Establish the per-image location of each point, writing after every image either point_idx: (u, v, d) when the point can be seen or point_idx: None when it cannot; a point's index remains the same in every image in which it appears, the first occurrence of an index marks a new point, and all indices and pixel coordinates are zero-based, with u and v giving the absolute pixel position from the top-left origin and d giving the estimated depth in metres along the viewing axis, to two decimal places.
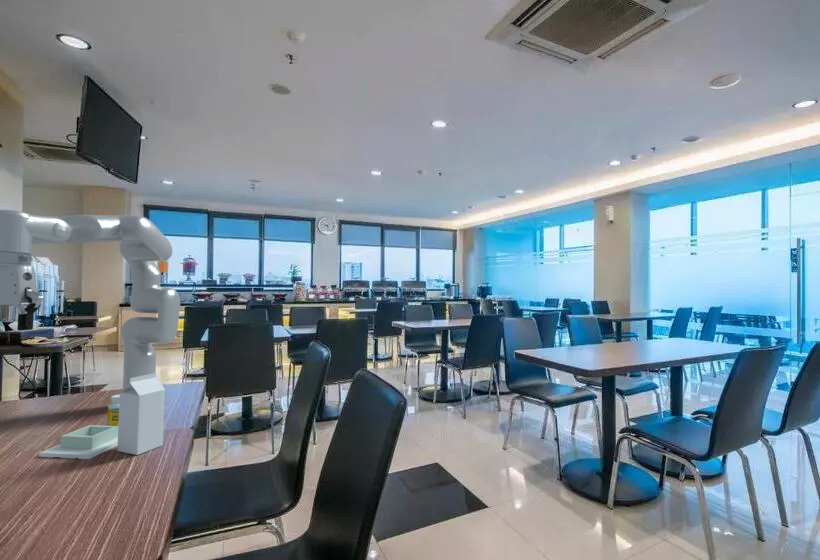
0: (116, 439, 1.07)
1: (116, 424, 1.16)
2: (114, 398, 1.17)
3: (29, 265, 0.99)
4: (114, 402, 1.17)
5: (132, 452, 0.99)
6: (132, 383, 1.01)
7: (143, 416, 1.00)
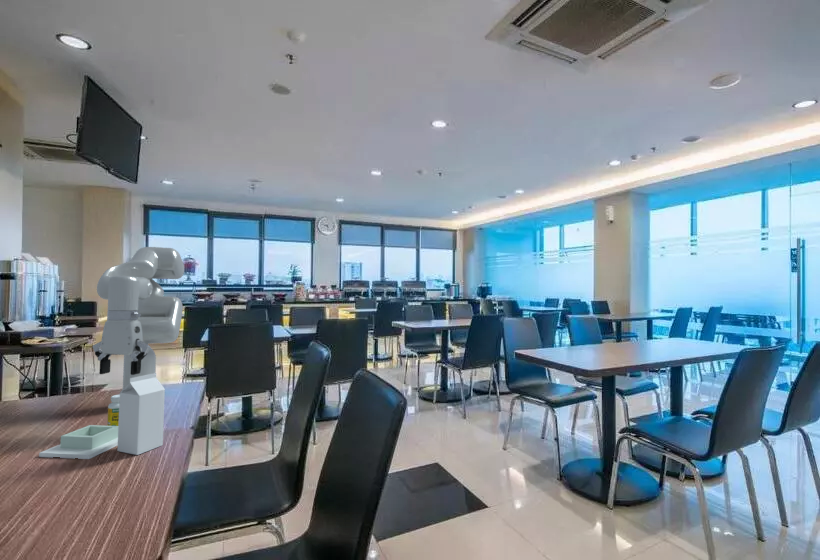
0: (116, 439, 1.07)
1: (116, 424, 1.16)
2: (114, 398, 1.17)
3: (137, 320, 1.21)
4: (114, 402, 1.17)
5: (132, 452, 0.99)
6: (132, 383, 1.01)
7: (143, 416, 1.00)
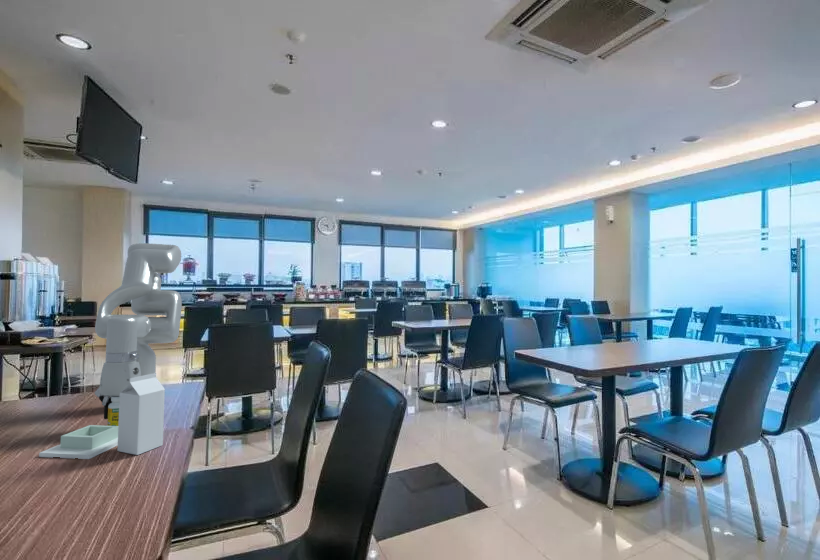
0: (116, 439, 1.07)
1: (116, 424, 1.16)
2: (114, 398, 1.17)
3: (135, 360, 1.21)
4: (114, 402, 1.17)
5: (132, 452, 0.99)
6: (132, 383, 1.01)
7: (143, 416, 1.00)
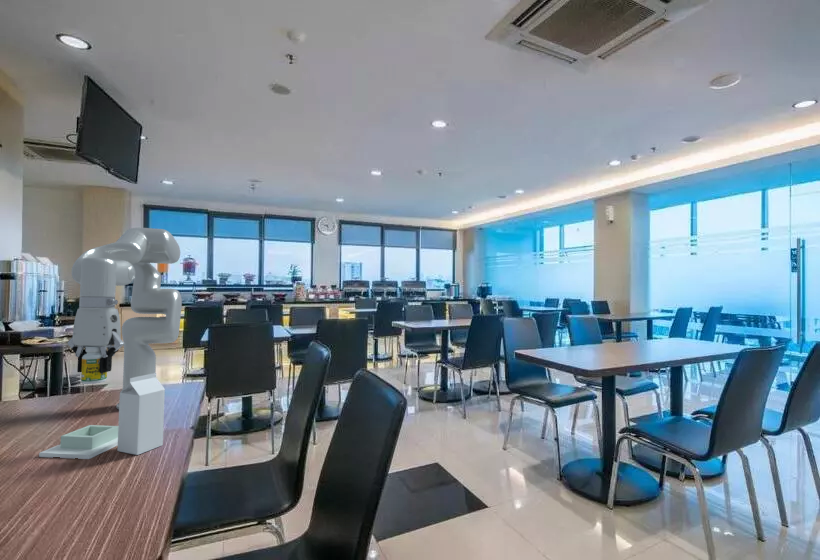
0: (116, 439, 1.07)
1: (91, 377, 1.03)
2: (89, 348, 1.04)
3: (114, 307, 1.07)
4: (89, 352, 1.04)
5: (132, 452, 0.99)
6: (132, 383, 1.01)
7: (143, 416, 1.00)
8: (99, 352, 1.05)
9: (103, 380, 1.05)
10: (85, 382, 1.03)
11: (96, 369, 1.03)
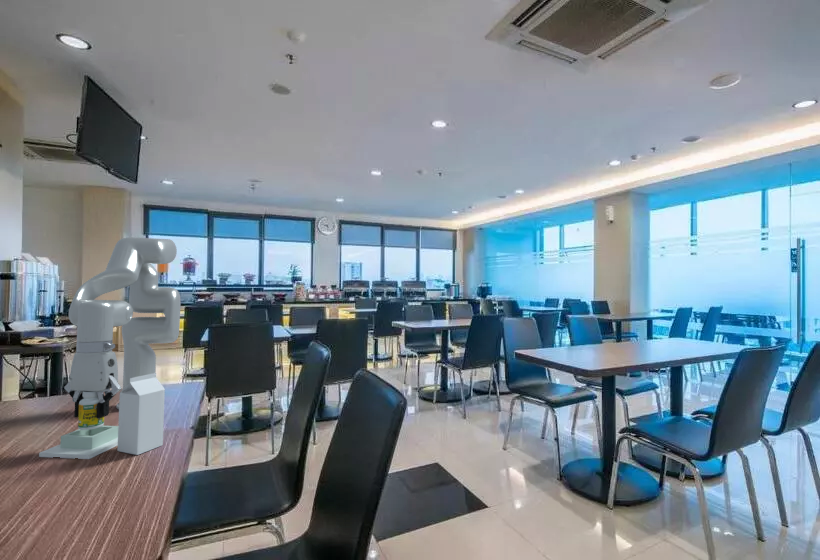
0: (116, 439, 1.07)
1: (88, 423, 1.02)
2: (86, 393, 1.03)
3: (111, 351, 1.07)
4: (86, 398, 1.03)
5: (132, 452, 0.99)
6: (132, 383, 1.01)
7: (143, 416, 1.00)
8: (96, 397, 1.04)
9: (100, 425, 1.04)
10: (82, 428, 1.02)
11: (93, 415, 1.03)
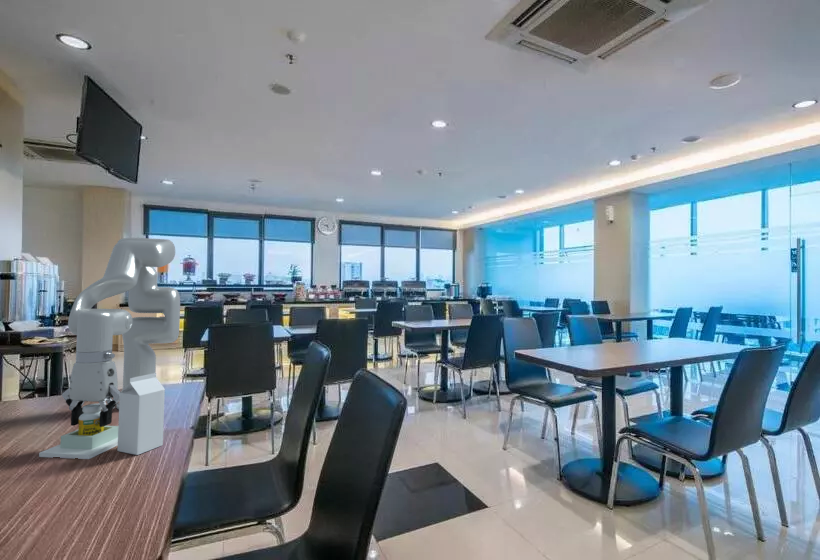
0: (116, 439, 1.07)
1: None
2: (86, 408, 1.03)
3: (111, 360, 1.07)
4: (86, 413, 1.03)
5: (132, 452, 0.99)
6: (132, 383, 1.01)
7: (143, 416, 1.00)
8: (96, 412, 1.04)
9: None
10: None
11: (93, 430, 1.03)
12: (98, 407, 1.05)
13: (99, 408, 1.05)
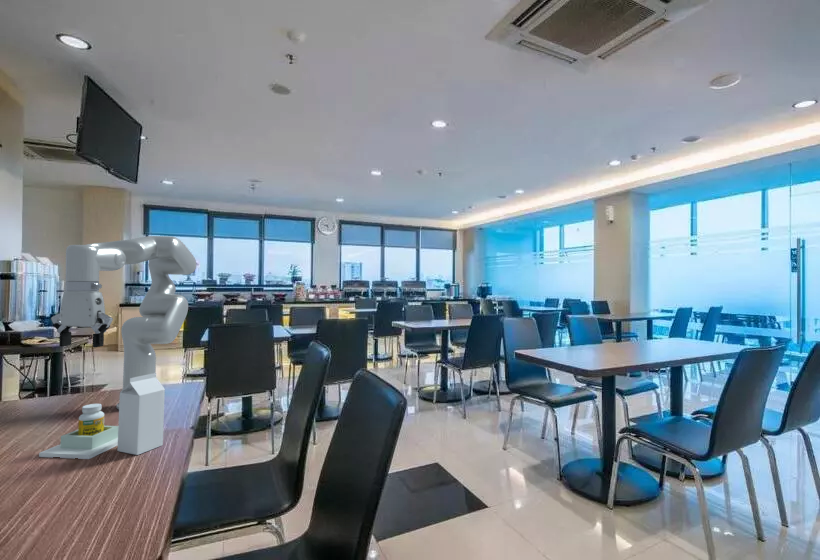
0: (116, 439, 1.07)
1: None
2: (86, 409, 1.03)
3: (98, 291, 1.16)
4: (86, 413, 1.03)
5: (132, 452, 0.99)
6: (132, 383, 1.01)
7: (143, 416, 1.00)
8: (96, 412, 1.04)
9: None
10: None
11: (92, 430, 1.03)
12: (98, 407, 1.04)
13: (99, 408, 1.05)
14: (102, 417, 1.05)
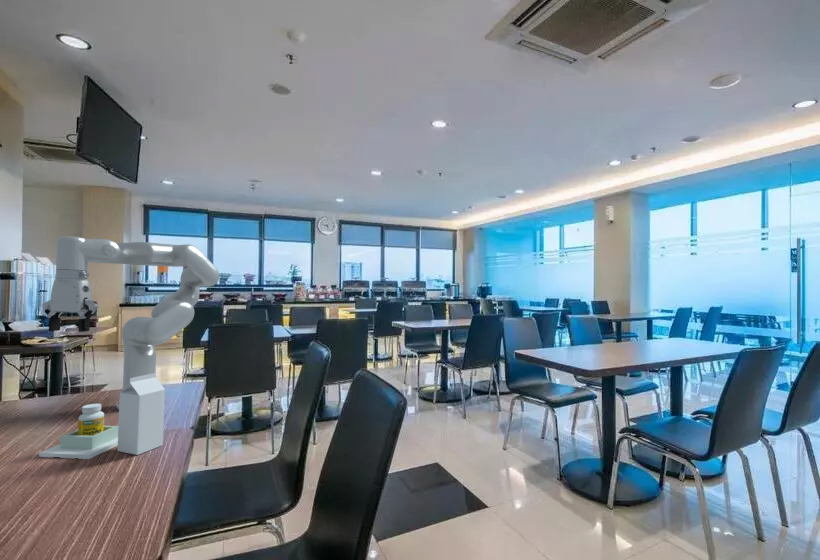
0: (116, 439, 1.07)
1: None
2: (85, 409, 1.03)
3: (86, 280, 1.25)
4: (85, 413, 1.03)
5: (132, 452, 0.99)
6: (132, 383, 1.01)
7: (143, 416, 1.00)
8: (96, 412, 1.04)
9: None
10: None
11: (92, 430, 1.03)
12: (98, 407, 1.04)
13: (99, 408, 1.05)
14: (102, 417, 1.05)
